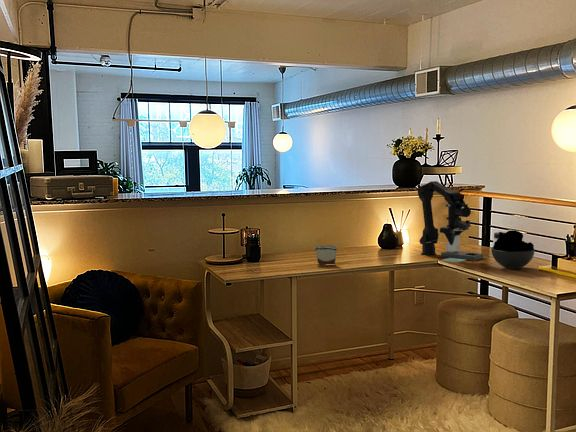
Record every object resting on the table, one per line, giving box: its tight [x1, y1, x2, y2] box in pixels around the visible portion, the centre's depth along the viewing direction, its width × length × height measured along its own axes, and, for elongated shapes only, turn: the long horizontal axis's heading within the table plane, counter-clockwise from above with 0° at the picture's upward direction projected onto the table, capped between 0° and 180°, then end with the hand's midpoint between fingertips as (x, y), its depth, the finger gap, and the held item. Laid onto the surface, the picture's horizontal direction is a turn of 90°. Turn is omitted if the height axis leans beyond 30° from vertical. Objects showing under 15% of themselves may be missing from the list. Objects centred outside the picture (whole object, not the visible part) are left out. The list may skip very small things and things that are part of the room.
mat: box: [441, 258, 467, 264], centre depth 304 cm, size 10×8×1 cm
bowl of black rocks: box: [490, 229, 536, 270], centre depth 278 cm, size 20×20×19 cm
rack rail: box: [440, 250, 484, 262], centre depth 311 cm, size 20×10×2 cm, turn 43°
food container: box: [314, 244, 338, 265], centre depth 304 cm, size 12×6×10 cm, turn 71°
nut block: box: [447, 234, 461, 251], centre depth 303 cm, size 4×4×8 cm
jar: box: [492, 231, 506, 247], centre depth 317 cm, size 9×8×12 cm
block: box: [445, 241, 459, 253], centre depth 315 cm, size 4×4×8 cm
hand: (453, 244), depth 303 cm, fingers closed on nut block, 4 cm apart
